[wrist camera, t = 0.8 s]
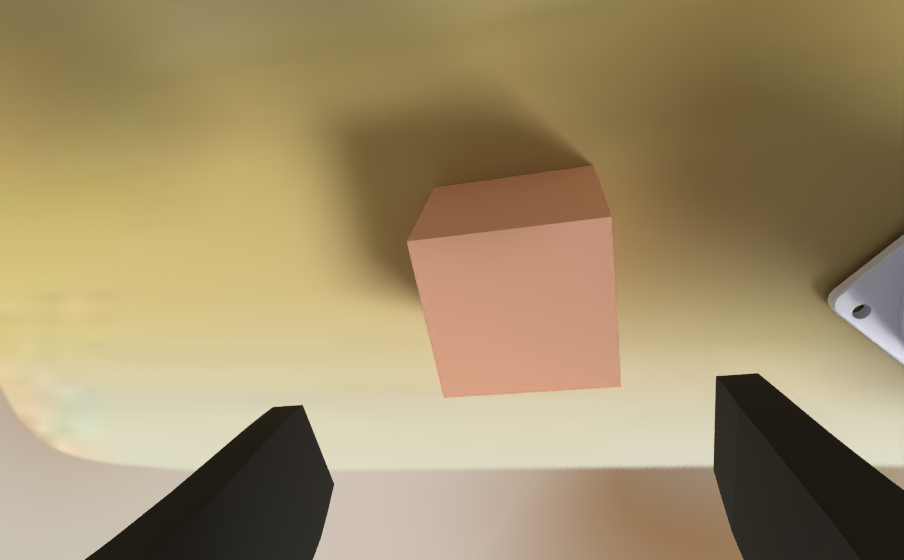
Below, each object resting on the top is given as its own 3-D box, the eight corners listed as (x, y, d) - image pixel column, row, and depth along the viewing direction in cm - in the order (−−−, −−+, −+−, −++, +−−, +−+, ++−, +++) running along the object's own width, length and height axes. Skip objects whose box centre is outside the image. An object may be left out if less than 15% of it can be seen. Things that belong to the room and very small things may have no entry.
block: (592, 163, 17) (611, 216, 13) (602, 304, 19) (620, 386, 15) (434, 186, 18) (406, 241, 14) (461, 317, 20) (443, 397, 16)
